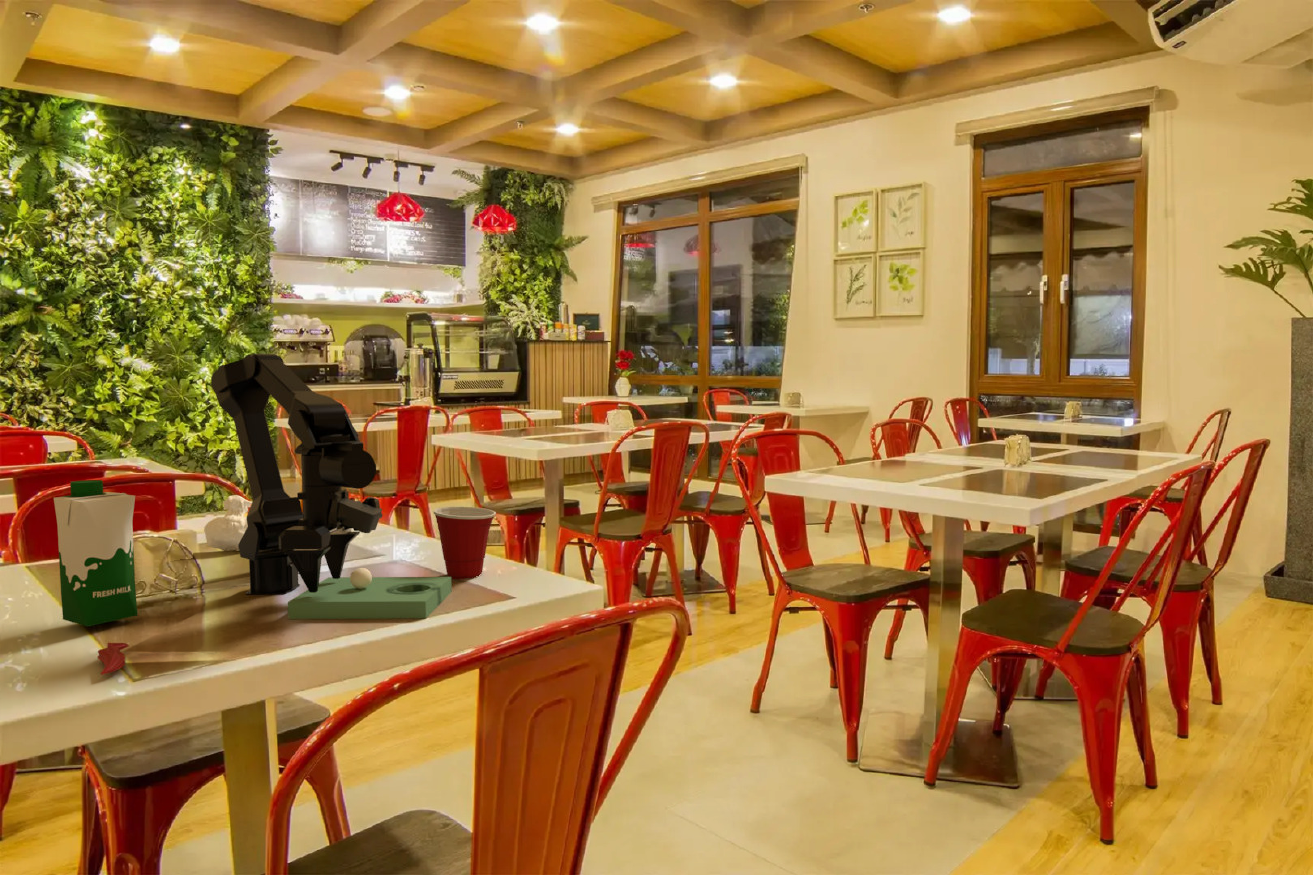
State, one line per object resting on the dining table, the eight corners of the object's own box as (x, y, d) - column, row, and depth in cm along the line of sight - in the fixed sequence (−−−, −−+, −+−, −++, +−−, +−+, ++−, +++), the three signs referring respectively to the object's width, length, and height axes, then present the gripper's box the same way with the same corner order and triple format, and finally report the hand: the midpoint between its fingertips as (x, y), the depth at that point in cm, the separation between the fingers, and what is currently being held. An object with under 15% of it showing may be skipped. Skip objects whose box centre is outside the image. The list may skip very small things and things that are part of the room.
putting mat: (288, 618, 129) (287, 601, 129) (329, 592, 145) (328, 577, 145) (425, 618, 129) (425, 601, 129) (451, 591, 145) (451, 576, 145)
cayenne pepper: (110, 646, 117) (109, 632, 117) (148, 644, 118) (148, 630, 118) (71, 676, 106) (70, 660, 106) (114, 673, 107) (113, 658, 107)
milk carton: (115, 607, 136) (109, 477, 135) (147, 615, 132) (142, 480, 130) (52, 620, 129) (45, 483, 128) (84, 629, 124) (77, 487, 123)
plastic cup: (491, 583, 151) (489, 513, 150) (427, 584, 151) (425, 514, 150) (502, 570, 162) (501, 504, 161) (442, 570, 162) (441, 504, 161)
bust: (194, 554, 178) (192, 498, 177) (213, 547, 185) (211, 493, 185) (255, 553, 178) (253, 497, 177) (271, 546, 186) (269, 493, 185)
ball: (347, 591, 135) (346, 570, 135) (354, 586, 139) (353, 565, 138) (368, 591, 135) (367, 570, 135) (374, 586, 139) (374, 565, 138)
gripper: (353, 491, 127) (356, 599, 128) (393, 477, 145) (395, 571, 146) (275, 492, 127) (279, 600, 128) (325, 477, 145) (328, 572, 146)
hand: (325, 585), depth 137 cm, fingers open, 9 cm apart
